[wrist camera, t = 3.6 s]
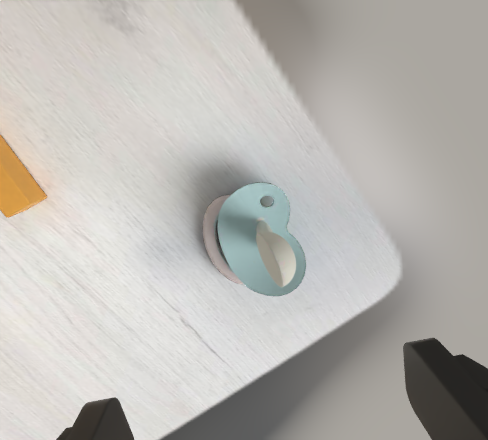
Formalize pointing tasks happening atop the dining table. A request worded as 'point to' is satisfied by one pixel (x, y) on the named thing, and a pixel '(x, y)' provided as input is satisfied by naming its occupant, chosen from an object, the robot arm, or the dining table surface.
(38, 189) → the wooden stick
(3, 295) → the dining table surface
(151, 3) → the dining table surface
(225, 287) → the dining table surface
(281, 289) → the pacifier
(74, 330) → the dining table surface
